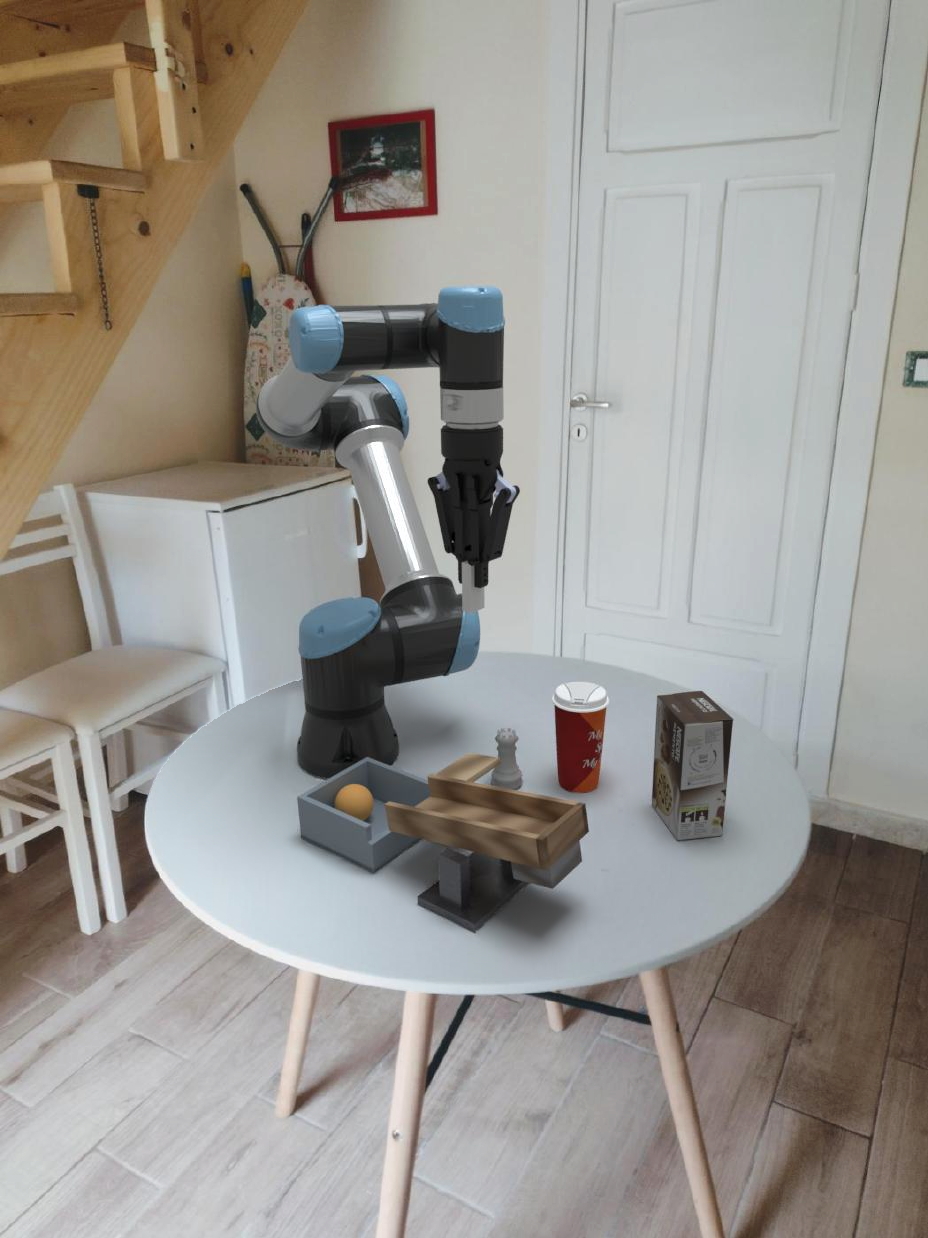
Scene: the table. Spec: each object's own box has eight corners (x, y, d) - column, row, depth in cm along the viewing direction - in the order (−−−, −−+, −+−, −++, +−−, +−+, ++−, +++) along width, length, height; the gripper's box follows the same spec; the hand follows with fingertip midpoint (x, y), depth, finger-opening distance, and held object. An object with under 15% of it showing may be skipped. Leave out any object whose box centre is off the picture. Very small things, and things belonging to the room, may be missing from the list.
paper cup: (604, 799, 118) (608, 705, 113) (547, 794, 119) (549, 701, 114) (607, 771, 125) (610, 681, 120) (553, 766, 126) (555, 677, 122)
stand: (417, 904, 98) (415, 850, 95) (495, 841, 109) (495, 792, 106) (474, 932, 93) (473, 876, 91) (550, 864, 104) (550, 813, 102)
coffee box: (724, 836, 109) (735, 719, 103) (676, 842, 108) (684, 724, 103) (694, 798, 117) (703, 688, 112) (649, 803, 116) (655, 693, 111)
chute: (622, 827, 101) (616, 776, 99) (550, 896, 89) (542, 840, 88) (472, 797, 114) (465, 752, 113) (393, 853, 103) (384, 804, 101)
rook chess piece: (513, 795, 119) (513, 742, 116) (485, 786, 121) (484, 734, 119) (528, 780, 123) (528, 729, 120) (500, 772, 125) (500, 722, 122)
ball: (320, 797, 112) (344, 791, 108) (348, 781, 115) (371, 774, 112) (336, 833, 112) (360, 827, 108) (363, 815, 115) (387, 810, 112)
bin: (301, 838, 110) (297, 796, 108) (369, 795, 120) (367, 757, 118) (374, 873, 103) (371, 830, 101) (440, 825, 112) (439, 784, 110)
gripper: (410, 423, 105) (416, 606, 114) (495, 432, 98) (495, 628, 106) (450, 416, 111) (453, 592, 119) (534, 424, 103) (531, 611, 111)
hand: (473, 609), depth 112 cm, fingers closed
